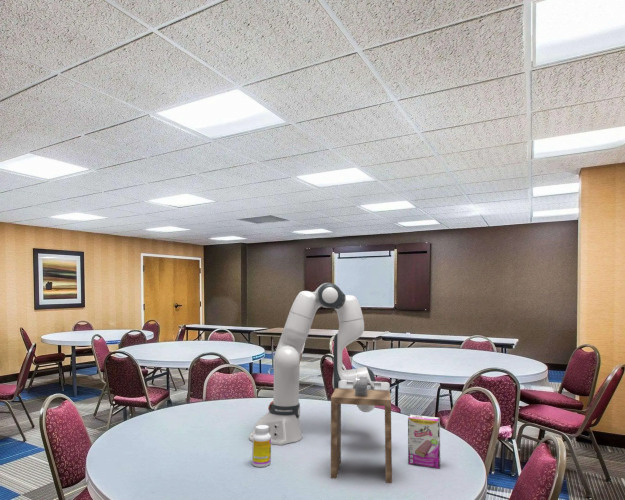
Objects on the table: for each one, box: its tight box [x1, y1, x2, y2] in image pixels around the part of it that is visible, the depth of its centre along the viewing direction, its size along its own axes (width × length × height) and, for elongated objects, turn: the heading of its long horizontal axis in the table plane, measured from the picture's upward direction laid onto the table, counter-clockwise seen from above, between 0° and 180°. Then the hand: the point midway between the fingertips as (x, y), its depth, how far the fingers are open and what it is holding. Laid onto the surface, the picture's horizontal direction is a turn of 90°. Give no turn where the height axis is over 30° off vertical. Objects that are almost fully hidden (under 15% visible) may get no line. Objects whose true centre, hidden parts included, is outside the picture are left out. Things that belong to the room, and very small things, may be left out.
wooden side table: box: [330, 388, 393, 484], centre depth 142 cm, size 20×14×26 cm
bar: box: [355, 377, 367, 397], centre depth 150 cm, size 4×20×4 cm, turn 170°
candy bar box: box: [407, 413, 441, 469], centre depth 149 cm, size 11×5×16 cm, turn 71°
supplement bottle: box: [251, 425, 272, 468], centre depth 147 cm, size 7×7×13 cm
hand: (363, 381), depth 156 cm, fingers closed on bar, 3 cm apart
